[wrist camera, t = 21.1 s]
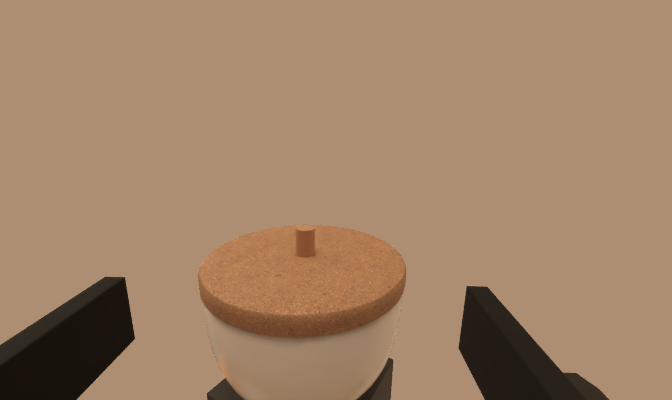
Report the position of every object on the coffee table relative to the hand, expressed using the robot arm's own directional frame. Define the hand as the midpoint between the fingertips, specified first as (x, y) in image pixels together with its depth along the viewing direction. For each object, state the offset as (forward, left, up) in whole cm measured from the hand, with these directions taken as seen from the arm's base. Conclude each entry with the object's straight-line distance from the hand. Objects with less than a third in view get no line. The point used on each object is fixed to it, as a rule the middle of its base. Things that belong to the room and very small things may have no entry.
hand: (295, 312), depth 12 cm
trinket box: (+3, -4, -8) cm, 9 cm away
